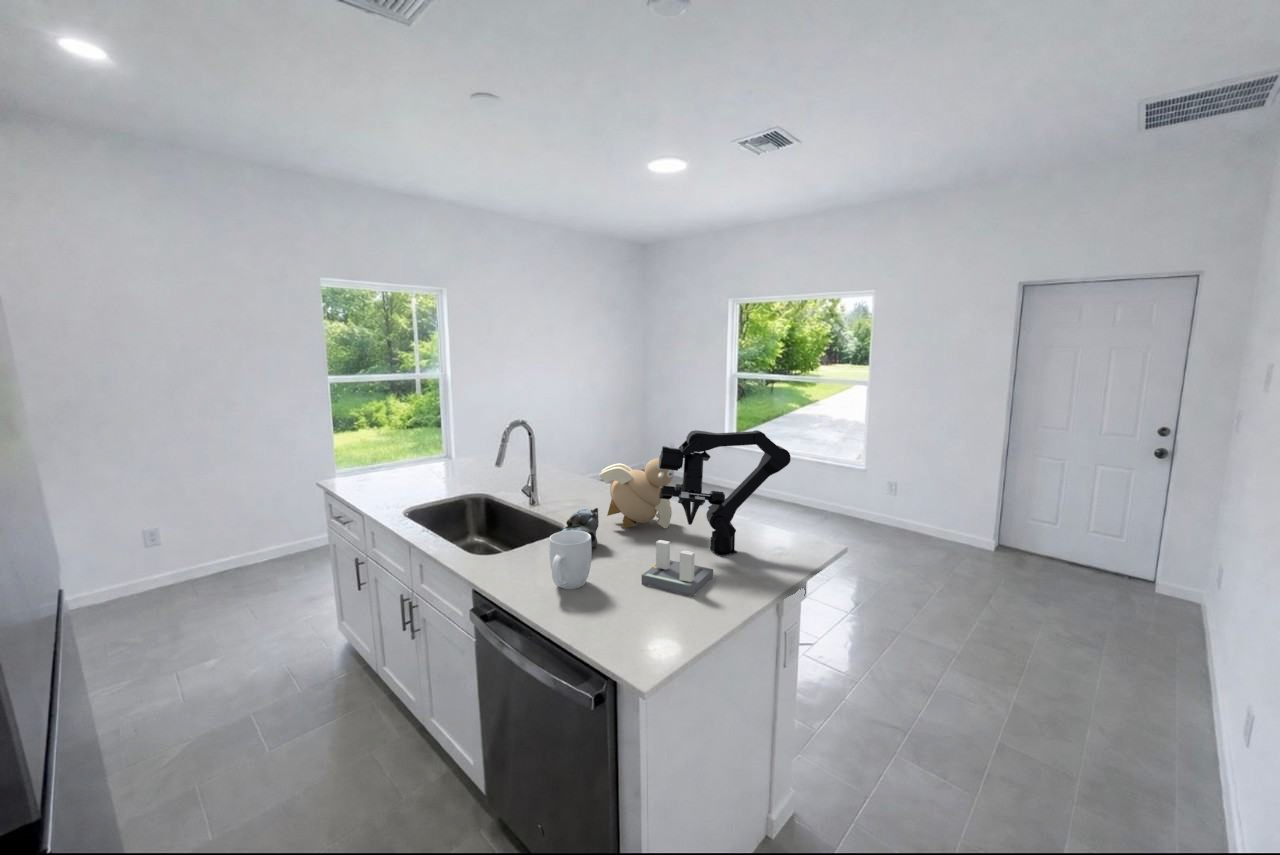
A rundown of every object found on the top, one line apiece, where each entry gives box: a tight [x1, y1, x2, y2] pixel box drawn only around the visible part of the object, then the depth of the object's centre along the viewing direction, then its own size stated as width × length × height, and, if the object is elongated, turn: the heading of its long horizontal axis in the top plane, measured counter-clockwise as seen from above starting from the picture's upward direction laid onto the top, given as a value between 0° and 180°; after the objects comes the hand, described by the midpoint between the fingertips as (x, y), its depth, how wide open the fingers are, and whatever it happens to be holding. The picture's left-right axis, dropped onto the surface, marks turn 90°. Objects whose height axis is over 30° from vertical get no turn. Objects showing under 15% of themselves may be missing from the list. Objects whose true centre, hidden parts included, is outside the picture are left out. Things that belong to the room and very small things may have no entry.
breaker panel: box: [641, 559, 714, 597], centre depth 145 cm, size 13×15×3 cm
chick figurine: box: [598, 457, 675, 529], centre depth 191 cm, size 30×28×23 cm
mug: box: [548, 530, 593, 590], centre depth 140 cm, size 15×11×13 cm
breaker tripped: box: [655, 539, 671, 570], centre depth 146 cm, size 2×3×7 cm, turn 60°
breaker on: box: [679, 550, 696, 582], centre depth 138 cm, size 2×3×7 cm, turn 60°
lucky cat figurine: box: [561, 507, 600, 549], centre depth 171 cm, size 15×12×14 cm
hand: (690, 524), depth 156 cm, fingers closed
